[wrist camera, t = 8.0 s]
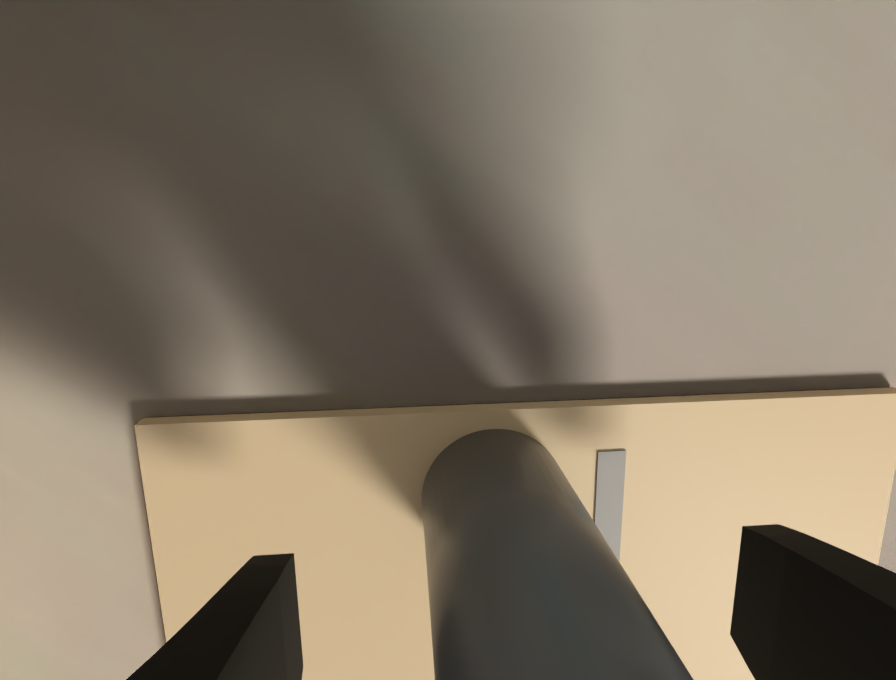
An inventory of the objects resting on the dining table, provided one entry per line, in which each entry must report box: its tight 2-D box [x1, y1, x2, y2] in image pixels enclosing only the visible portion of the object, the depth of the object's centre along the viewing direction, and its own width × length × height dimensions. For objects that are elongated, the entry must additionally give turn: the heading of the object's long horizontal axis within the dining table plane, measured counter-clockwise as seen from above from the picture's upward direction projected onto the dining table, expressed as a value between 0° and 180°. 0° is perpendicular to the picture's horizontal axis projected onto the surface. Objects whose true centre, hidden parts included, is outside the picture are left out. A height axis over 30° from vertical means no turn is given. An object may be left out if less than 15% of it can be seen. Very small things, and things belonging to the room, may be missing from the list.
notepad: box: [134, 387, 896, 680], centre depth 13 cm, size 12×16×1 cm
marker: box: [422, 429, 693, 680], centre depth 8 cm, size 3×3×8 cm
